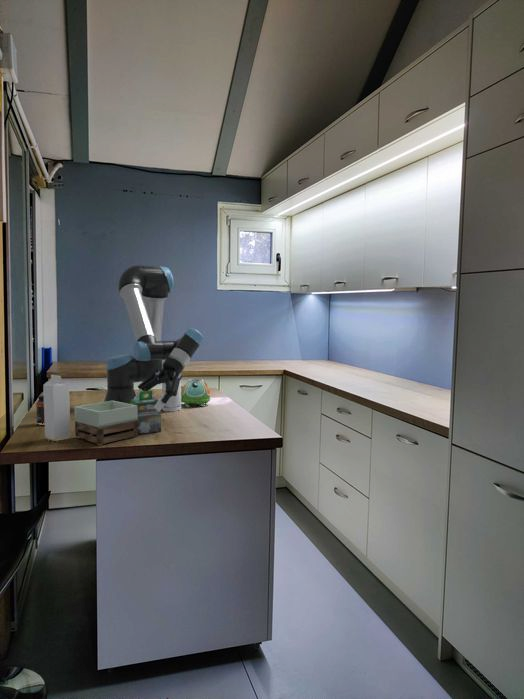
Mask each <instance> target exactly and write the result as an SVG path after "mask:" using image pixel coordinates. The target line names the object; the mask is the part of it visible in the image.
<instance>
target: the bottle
mask: <svg viewBox="0 0 524 699" xmlns="http://www.w3.org/2000/svg"><path fill="white" fill-rule="evenodd" d="M164 362H165V360H162V369H163V363H164ZM161 384H162V385H161V386H162V394H163V393H166V384H165V383H161ZM181 392H182V379H181V380H180V383H179V387H178V391H177V395H176V396H172V397H170V398H169V400H168V401H167V403H166V404H165V405H164V406H163V408H162V411H164V412H168V411H173V412H179V411H178V410H180V411H181V410H182V402H181V398H182V397H181Z"/></svg>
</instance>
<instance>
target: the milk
mask: <svg viewBox="0 0 524 699" xmlns="http://www.w3.org/2000/svg"><path fill="white" fill-rule="evenodd" d="M42 386H43V387H42V388H43V389H42V390H43V393H42V394H43V395H44V421H45V426H44V438H45V437H47V438H50V439H54V440H56V439H60V438H65V437H70V436H71V413H70V412H71V411H70V410H71V408H70V404H71V403H70V384H69V383H68V382H66V381H63V380H62V376H61V375H57V374H50V379H49V380H48V381H46V382H45V383H44V384H43V385H42Z"/></svg>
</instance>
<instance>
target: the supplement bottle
mask: <svg viewBox="0 0 524 699" xmlns="http://www.w3.org/2000/svg"><path fill="white" fill-rule="evenodd" d="M35 406H36V408H35V409H36V424H37V423H42V424H43V423H45V421H44V394H40V395H38V400H37V402H36V404H35Z"/></svg>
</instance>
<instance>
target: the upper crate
mask: <svg viewBox="0 0 524 699" xmlns="http://www.w3.org/2000/svg"><path fill="white" fill-rule="evenodd" d="M134 420H138V409H137V405H132V404H127V403H122V402H117V401H107V402H104V401H103V402H96V403H88V404H82V405H76V406H74V422H75V421H77V422H81V423H84V424H88V425H92V426H95V427H104V426H109V425H114V424H119V423H124V422H129V421H134Z"/></svg>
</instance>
